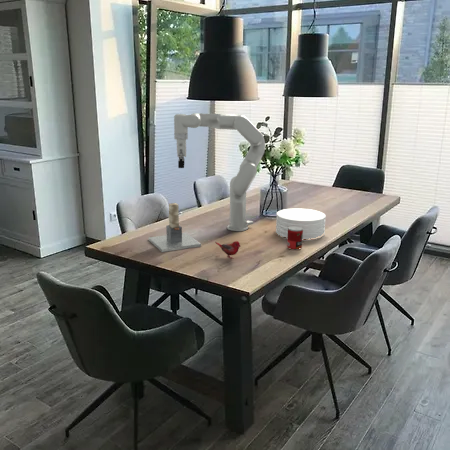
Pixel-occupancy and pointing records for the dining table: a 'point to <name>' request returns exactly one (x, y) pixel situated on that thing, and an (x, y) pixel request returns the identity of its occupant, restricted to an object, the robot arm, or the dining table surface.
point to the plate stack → (301, 222)
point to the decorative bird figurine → (230, 248)
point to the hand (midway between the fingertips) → (181, 166)
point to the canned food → (295, 237)
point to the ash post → (173, 215)
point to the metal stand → (174, 240)
